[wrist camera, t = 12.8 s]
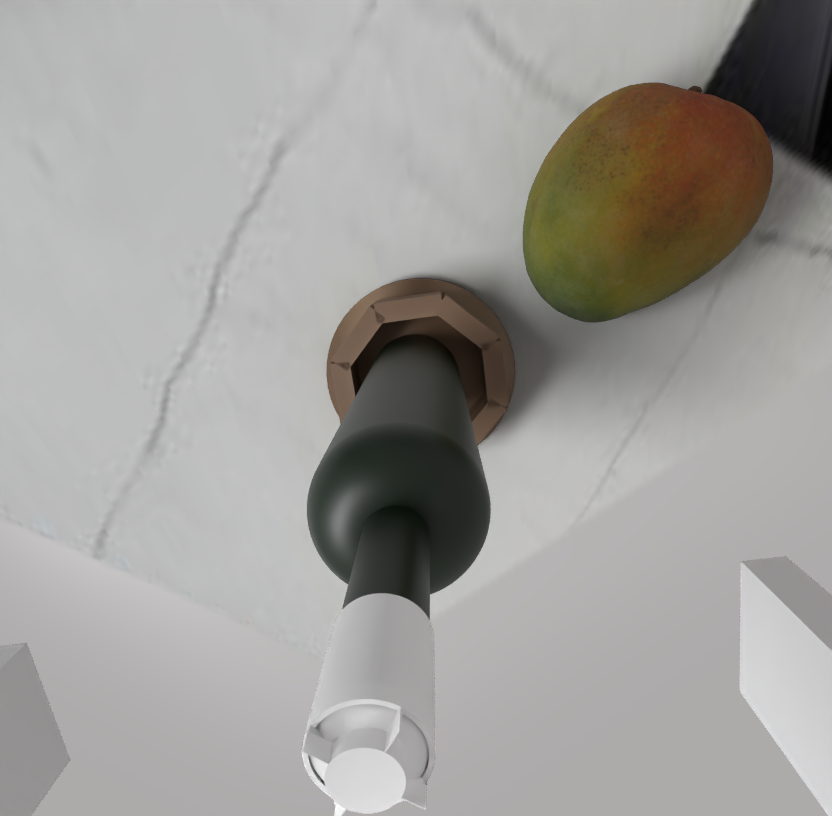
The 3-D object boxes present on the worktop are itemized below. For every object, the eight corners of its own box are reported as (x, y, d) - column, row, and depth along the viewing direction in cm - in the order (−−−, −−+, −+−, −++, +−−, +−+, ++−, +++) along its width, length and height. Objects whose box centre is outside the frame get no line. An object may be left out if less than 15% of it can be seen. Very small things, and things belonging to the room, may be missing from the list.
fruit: (740, 148, 34) (860, 106, 25) (652, 344, 38) (729, 374, 28) (559, 82, 34) (611, 12, 24) (486, 287, 37) (506, 298, 27)
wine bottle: (431, 434, 39) (434, 967, 10) (356, 393, 38) (120, 830, 9) (475, 361, 37) (631, 726, 8) (398, 317, 37) (277, 548, 8)
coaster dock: (345, 469, 40) (337, 491, 37) (313, 292, 37) (300, 296, 34) (521, 447, 40) (530, 467, 36) (503, 265, 36) (511, 266, 33)
